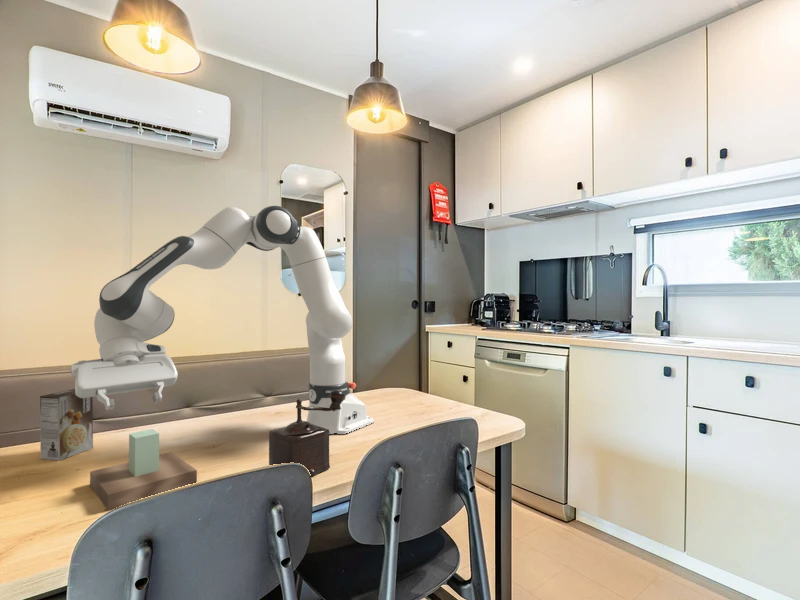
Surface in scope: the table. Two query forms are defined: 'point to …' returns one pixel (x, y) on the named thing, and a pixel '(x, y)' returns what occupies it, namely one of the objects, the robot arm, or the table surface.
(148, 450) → the sage block
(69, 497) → the table surface
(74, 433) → the coffee box
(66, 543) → the table surface
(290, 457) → the manual coffee grinder
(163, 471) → the walnut platform
